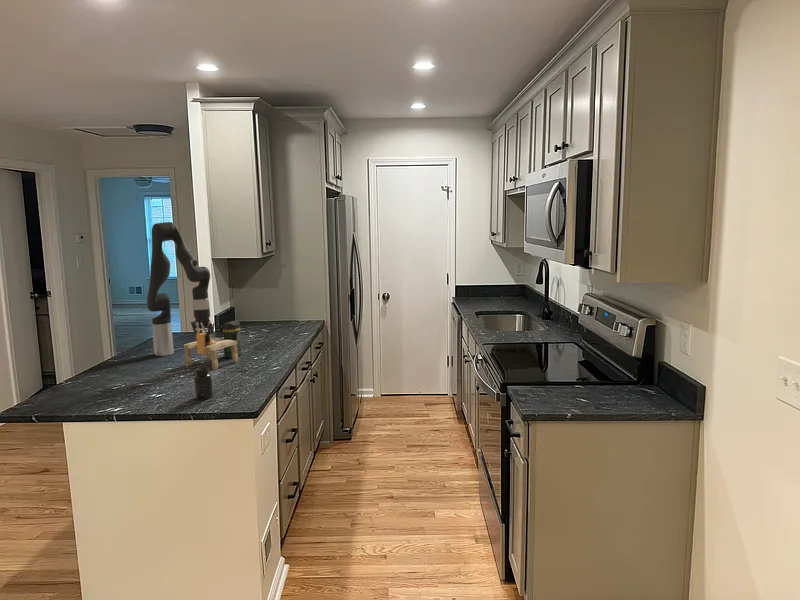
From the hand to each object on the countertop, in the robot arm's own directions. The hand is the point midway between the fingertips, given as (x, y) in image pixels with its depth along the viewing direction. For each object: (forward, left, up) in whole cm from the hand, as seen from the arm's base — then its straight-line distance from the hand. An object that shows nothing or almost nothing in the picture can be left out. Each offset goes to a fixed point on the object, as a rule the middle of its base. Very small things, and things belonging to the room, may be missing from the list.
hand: (204, 342), depth 263 cm
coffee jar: (-1, +20, -12) cm, 23 cm away
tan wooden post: (0, 0, -5) cm, 5 cm away
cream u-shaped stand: (0, +4, -12) cm, 13 cm away
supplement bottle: (+37, -37, -12) cm, 54 cm away
